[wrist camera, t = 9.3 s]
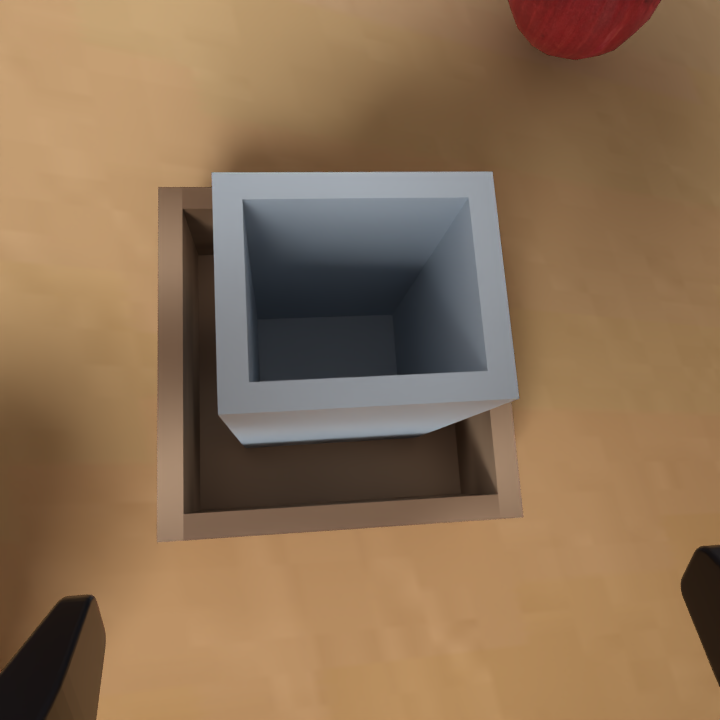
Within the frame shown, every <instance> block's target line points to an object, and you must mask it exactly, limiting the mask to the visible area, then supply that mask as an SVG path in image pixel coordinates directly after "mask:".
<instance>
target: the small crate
mask: <svg viewBox="0 0 720 720" xmlns="http://www.w3.org/2000/svg"><path fill="white" fill-rule="evenodd" d="M212 205H213V243H214V282H215V320H216V358H217V396H218V415H219V417H220V418H221V419H222V420H223V422H224V423H225V424H226V425H227V426H228V428H229V429H230V430H231V431H232V433H233V434H234V435H235V436H236V437H237V439H238V440H239V441H240V442H241V444H242V445H243V446H244V447H245V448H256V447H272V446H289V445H305V444H321V443H337V442H354V441H370V440H386V439H403V438H416V437H419V436H422V435H424V434H427V433H429V432H432V431H435V430H437V429H440V428H443V427H445V426H448V425H451V424H453V423H456V422H459V421H461V420H464V419H467V418H469V417H472V416H474V415H477V414H480V413H482V412H485V411H488V410H490V409H493V408H496V407H498V406H501V405H504V404H506V403H509V402H511V401H514V400H517V399H519V391H518V383H517V374H516V366H515V357H514V349H513V341H512V332H511V324H510V315H509V307H508V298H507V290H506V282H505V273H504V265H503V256H502V248H501V239H500V231H499V223H498V214H497V206H496V197H495V189H494V180H493V172H212Z"/></svg>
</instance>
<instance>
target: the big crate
mask: <svg viewBox="0 0 720 720" xmlns="http://www.w3.org/2000/svg"><path fill="white" fill-rule="evenodd" d="M520 517H523V508H522V498H521V489H520V479H519V470H518V460H517V451H516V441H515V432H514V422H513V413H512V403H511V402H509V403H506V404H504V405H501V406H498V407H496V408H493V409H490V410H488V411H485V412H482V413H480V414H477V415H474V416H472V417H469V418H467V419H464V420H461V421H459V422H456V423H453V424H451V425H448V426H445V427H443V428H440V429H437V430H435V431H432V432H429V433H427V434H424V435H422V436H419V437H416V438H403V439H386V440H370V441H354V442H337V443H321V444H305V445H289V446H272V447H256V448H245V447H244V446H243V445H242V444H241V442H240V441H239V440H238V439H237V437H236V436H235V435H234V434H233V433H232V431H231V430H230V429H229V428H228V426H227V425H226V424H225V423H224V422H223V420H222V419H221V418H220V417H219V415H218V396H217V358H216V320H215V282H214V243H213V205H212V187H158V414H157V542H169V541H184V540H199V539H213V538H228V537H242V536H257V535H272V534H286V533H301V532H316V531H330V530H345V529H359V528H374V527H389V526H403V525H418V524H433V523H447V522H462V521H477V520H491V519H506V518H520Z"/></svg>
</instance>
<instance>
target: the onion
mask: <svg viewBox="0 0 720 720" xmlns="http://www.w3.org/2000/svg"><path fill="white" fill-rule="evenodd" d="M660 1H661V0H508V2H509V5H510V9H511V11H512V14H513V17H514V19H515V22H516V25H517V28H518V29H519V30H520V31H521V33H522V34H523V35H524V36H525V38H526V39H527V40H528V41H529V42H530V44H531V45H532V46H534V47H535V48H537V49H539V50H540V51H542V52H544V53H545V54H547V55H551V56H556V57H561V58H566V59H573V60H578V59H583V58H589V57H594V56H599V55H602V54H605V53H607V52H610V51H613V50H615V49H616V48H617V47H619V46H620V45H621V44H622V43H623V42H625V41H626V40H627V39H628V38H629V37H631V36H632V35H633V34H634V33H635V32H636V31H637V30H638V29H639V28H640V27H642V26H643V25H644V24H645V23H646V22H647V21H648V20H649V19H650V18H651V16H652V14H653V13H654V11H655V9H656V8H657V6H658V4H659V3H660Z"/></svg>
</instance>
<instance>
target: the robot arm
mask: <svg viewBox="0 0 720 720" xmlns="http://www.w3.org/2000/svg"><path fill="white" fill-rule="evenodd" d="M681 592H682V596H683V598H684V601H685V603H686V606H687V608H688V611H689V613H690V616H691V618H692V621H693V623H694V626H695V628H696V630H697V633H698V635H699V638H700V640H701V643H702V645H703V648H704V650H705V653H706V655H707V658H708V660H709V663H710V665H711V667H712V670H713V672H714V675H715V677H716V679H717V682H718V684H719V686H720V545H710V546H701V547H699V548H697V549H696V551H695V552H694V554H693V556H692V558H691V560H690V562H689V564H688V566H687V568H686V570H685V573H684V575H683V577H682V579H681ZM105 644H106V635H105V628H104V625H103V621H102V618H101V614H100V611H99V607H98V604H97V601H96V598H95V597H94V596H93V595H77V596H67V597H64V598H62V599H61V600H59V601H58V602H57V604H56V605H55V606H54V607H53V609H52V610H51V611H50V612H49V614H48V615H47V616H46V617H45V618H44V620H43V621H42V622H41V623H40V625H39V626H38V627H37V628H36V630H35V631H34V632H33V633H32V635H31V636H30V637H29V638H28V639H27V641H26V642H25V643H24V644H23V646H22V647H21V648H20V649H19V651H18V652H17V653H16V654H15V656H14V657H13V658H12V659H11V660H10V662H9V663H8V664H7V665H6V667H5V668H4V669H3V670H2V672H1V673H0V720H96V716H97V708H98V701H99V693H100V685H101V677H102V669H103V661H104V653H105Z"/></svg>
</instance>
